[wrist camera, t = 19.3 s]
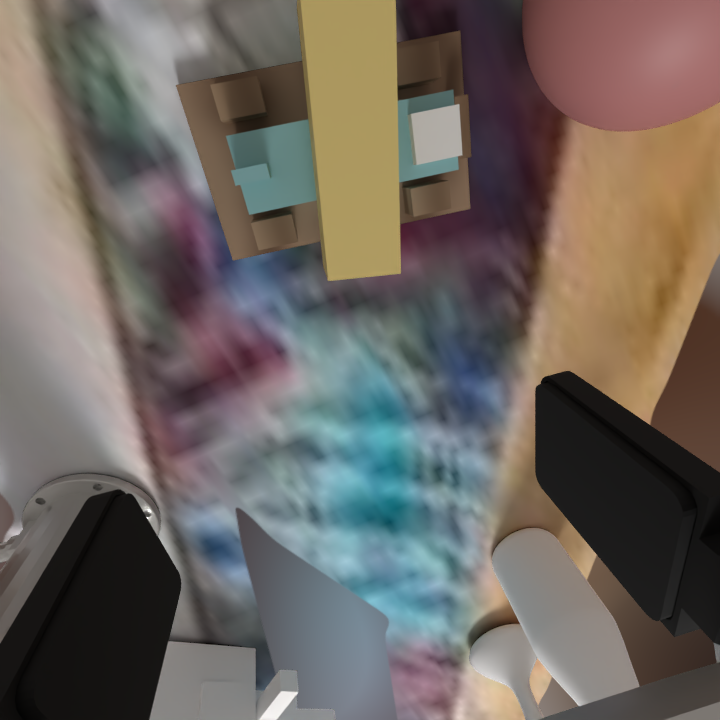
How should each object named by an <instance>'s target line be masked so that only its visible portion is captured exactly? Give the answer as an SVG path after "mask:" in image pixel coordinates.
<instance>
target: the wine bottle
mask: <svg viewBox="0 0 720 720" xmlns="http://www.w3.org/2000/svg"><path fill="white" fill-rule="evenodd" d="M492 566H493V570H494V573H495V575H496V577H497V579H498V581H499V583H500V585H501V587H502V589H503V591H504V593H505V595H506V597H507V599H508V601H509V603H510V605H511V607H512V609H513V611H514V613H515V615H516V617H517V619H518V621H519V623H520V625H521V626H522V628H523V630H524V632H525V634H526V636H527V638H528V640H529V642H530V644H531V646H532V648H533V650H534V652H535V654H536V656H537V658H538V659H539V661H540V662H541V663H542V664H543V666H544V667H545V668H546V669H547V670H548V672H549V673H550V674H551V675H552V677H553V678H554V679H555V680H556V681H557V682H558V683H559V684H560V685H561V686H562V688H563V689H564V690H565V691H566V692H567V693H568V694H569V695H570V696H571V697H572V699H573V700H574V701H576V703H577V704H578V705H579V706H582V705H585V704H588V703H591V702H594V701H597V700H600V699H603V698H606V697H609V696H612V695H616V694H619V693H622V692H625V691H628V690H631V689H634V688H637V687H640V686H639V683H638V681H637V678H636V675H635V672H634V670H633V667H632V664H631V661H630V658H629V656H628V653H627V650H626V647H625V644H624V641H623V639H622V636H621V634H620V631H619V629H618V627H617V624H616V622H615V620H614V618H613V617H612V615H611V614H610V612H609V611H608V610H607V608H606V607H605V605H604V604H603V602H602V601H601V600H600V598H599V597H598V596H597V594H596V593H595V591H594V590H593V588H592V587H591V586H590V584H589V583H588V581H587V580H586V579H585V577H584V576H583V574H582V573H581V572H580V570H579V569H578V567H577V566H576V565H575V563H574V562H573V560H572V559H571V558H570V556H569V555H568V553H567V552H566V551H565V549H564V548H563V546H562V545H561V544H560V542H559V541H558V539H557V538H556V537H555V536H554V535H553V534H551V533H550V532H549V531H546V530H544V529H540V528H526V529H522V530H519V531H516V532H514V533H512V534H510V535H509V536H507V537H506V538H504V539H503V540H502V541H501V542H500V543H499V544H498V546H497V547H496V548H495V550H494V552H493V556H492Z"/></svg>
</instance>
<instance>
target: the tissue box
mask: <svg viewBox="0 0 720 720" xmlns="http://www.w3.org/2000/svg"><path fill="white" fill-rule="evenodd" d="M298 692H299V690H298V677H297V670H281V669H280V670H279V671H278V673H277V674H276V675H275V677H274V678H273V679H272V681H271V682H270V683H269V685H268V686H267V687H266V689H265V690H264V691H256V649H255V648H246V647H234V646H222V645H210V644H197V643H185V642H173V641H168V645H167V649H166V653H165V657H164V661H163V665H162V669H161V674H160V678H159V682H158V686H157V690H156V694H155V698H154V702H153V706H152V711H151V715H150V719H149V720H336V719H335V712H334V709H297V698H296V695H297V693H298Z"/></svg>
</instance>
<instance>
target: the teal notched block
mask: <svg viewBox="0 0 720 720" xmlns="http://www.w3.org/2000/svg"><path fill="white" fill-rule="evenodd" d="M226 138H227V141H228V145H229V148H230V152H231V155H232V158H233V162H234V165H235V168H236V170H231V172H232V176H233V179H234V182H235V186H237V185H241V189H242V192H243V195H244V199H245V202H246V206H247V209H248V212H249V215H251V214H255V213H260V212H265V211H269V210H274V209H279V208H283V207H288V206H293V205H297V204H302V203H306V202H311V201H316V200H317V199H316V189H315V179H314V170H313V160H312V150H311V140H310V131H309V121H308V119H307V120H302V121H297V122H292V123H287V124H282V125H277V126H272V127H268V128H263V129H258V130H253V131H248V132H243V133H238V134H233V135H228V136H226ZM398 149H399V182H404V181H408V180H413V179H418V178H422V177H427V176H432V175H436V174H441V173H446V172H450V171H455V170H459V165H458V156H461V155H462V140H461V124H460V109H459V104H457V105H454V92H453V90H449V91H444V92H439V93H434V94H429V95H424V96H419V97H414V98H410V99H405V100H400V101H398Z"/></svg>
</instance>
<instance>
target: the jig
mask: <svg viewBox="0 0 720 720" xmlns="http://www.w3.org/2000/svg"><path fill="white" fill-rule="evenodd" d="M176 87H177V90H178V93H179V96H180V99H181V102H182V105H183V108H184V111H185V114H186V118H187V121H188V124H189V127H190V130H191V133H192V136H193V139H194V142H195V145H196V148H197V151H198V154H199V157H200V161H201V164H202V167H203V170H204V173H205V176H206V179H207V182H208V185H209V188H210V191H211V194H212V197H213V200H214V204H215V207H216V210H217V213H218V216H219V219H220V222H221V225H222V228H223V231H224V234H225V237H226V240H227V243H228V246H229V250H230V253H231V256H232V259H233V260H238V259H242V258H247V257H251V256H256V255H260V254H265V253H270V252H274V251H279V250H283V249H288V248H293V247H297V246H302V245H306V244H311V243H315V242H320V241H321V238H320V228H319V219H318V209H317V200H316V201H311V202H306V203H302V204H297V205H293V206H288V207H283V208H279V209H274V210H269V211H265V212H260V213H255V214H251V215H249V212H248V209H247V206H246V202H245V199H244V195H243V192H242V189H241V185H237V186H235V182H234V179H233V176H232V172H231V170H236V168H235V165H234V162H233V158H232V155H231V152H230V148H229V145H228V141H227V138H226V136H228V135H233V134H238V133H243V132H248V131H253V130H258V129H263V128H268V127H272V126H277V125H282V124H287V123H292V122H297V121H302V120H307V119H308V111H307V101H306V92H305V82H304V72H303V62H302V61H299V62H294V63H289V64H284V65H279V66H273V67H268V68H263V69H258V70H253V71H247V72H242V73H237V74H232V75H227V76H221V77H216V78H211V79H206V80H201V81H195V82H190V83H185V84H180V85H176ZM449 90H453V92H454V105H457V104H459V109H460V124H461V140H462V155H461V156H458V165H459V170H455V171H450V172H446V173H441V174H436V175H432V176H427V177H422V178H418V179H413V180H408V181H404V182H399V203H400V224H402V223H407V222H412V221H416V220H421V219H425V218H430V217H435V216H439V215H444V214H448V213H453V212H457V211H462V210H467V209H470V195H469V177H468V159H467V158H468V157H471V142H470V123H469V104H468V94H467V95H464V88H463V70H462V53H461V35H460V31H456V32H450V33H445V34H440V35H435V36H430V37H424V38H419V39H414V40H409V41H404V42H398V43H397V95H398V101H400V100H405V99H410V98H414V97H419V96H424V95H429V94H434V93H439V92H444V91H449Z"/></svg>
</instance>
